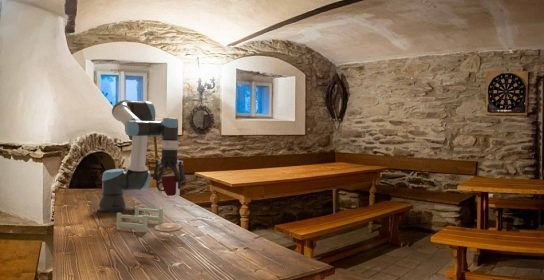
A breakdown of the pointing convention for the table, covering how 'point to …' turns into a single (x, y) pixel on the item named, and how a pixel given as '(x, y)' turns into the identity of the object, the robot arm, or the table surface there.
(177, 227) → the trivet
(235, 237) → the table surface
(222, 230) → the table surface
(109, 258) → the table surface
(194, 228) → the table surface
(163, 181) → the mug
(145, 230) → the cradle
